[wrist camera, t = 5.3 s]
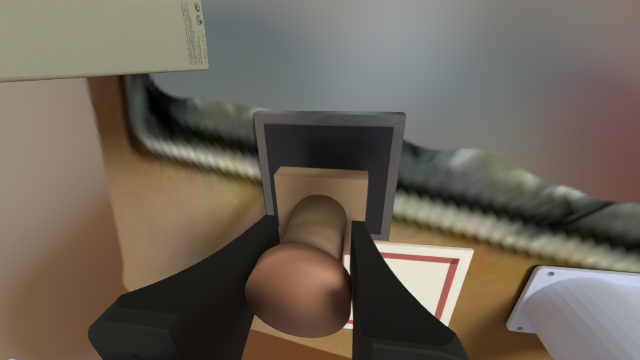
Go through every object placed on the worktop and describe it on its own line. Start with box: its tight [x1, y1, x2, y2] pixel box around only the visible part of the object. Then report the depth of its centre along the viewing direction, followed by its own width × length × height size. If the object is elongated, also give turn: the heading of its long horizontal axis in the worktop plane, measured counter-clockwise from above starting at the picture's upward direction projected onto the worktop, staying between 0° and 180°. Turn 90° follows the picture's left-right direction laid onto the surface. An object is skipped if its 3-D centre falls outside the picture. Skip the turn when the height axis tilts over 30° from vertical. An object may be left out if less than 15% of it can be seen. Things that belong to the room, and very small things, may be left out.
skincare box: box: [0, 0, 209, 82], centre depth 10 cm, size 6×4×12 cm
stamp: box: [245, 166, 368, 338], centre depth 12 cm, size 5×5×7 cm
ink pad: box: [253, 111, 406, 241], centre depth 18 cm, size 10×10×1 cm
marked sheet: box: [342, 241, 474, 329], centre depth 23 cm, size 12×12×1 cm
